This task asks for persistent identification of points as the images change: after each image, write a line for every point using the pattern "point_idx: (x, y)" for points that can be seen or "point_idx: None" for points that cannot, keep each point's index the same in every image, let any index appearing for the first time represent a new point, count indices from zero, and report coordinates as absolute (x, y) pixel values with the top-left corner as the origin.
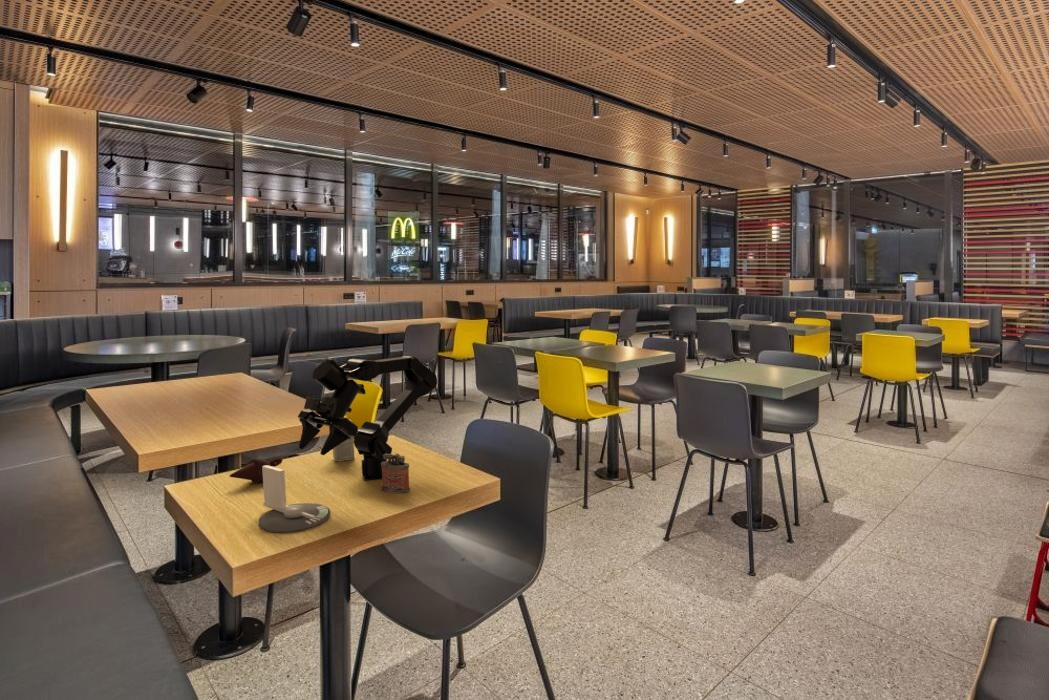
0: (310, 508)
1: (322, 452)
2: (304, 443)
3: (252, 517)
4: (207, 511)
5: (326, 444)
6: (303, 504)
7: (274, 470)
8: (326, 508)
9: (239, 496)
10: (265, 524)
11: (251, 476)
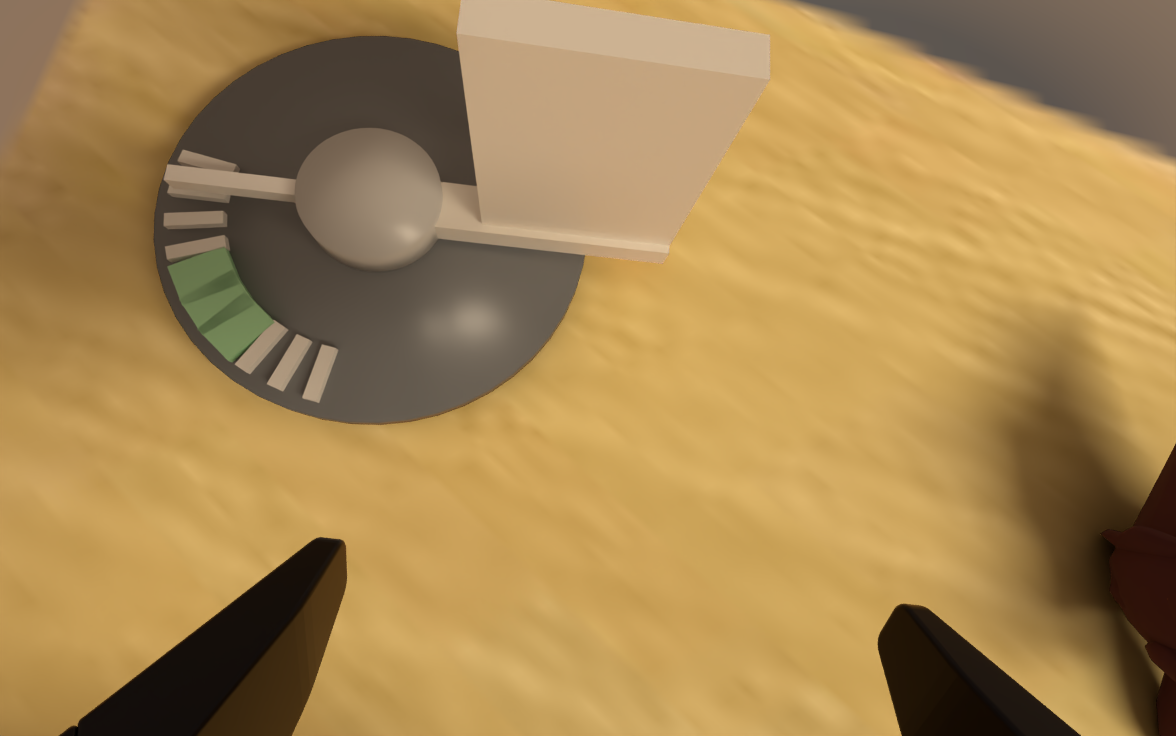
0: (379, 339)
1: (297, 559)
2: (937, 726)
3: None
4: (903, 112)
5: (159, 664)
6: (478, 367)
7: (558, 8)
8: (270, 384)
9: (978, 328)
10: (438, 63)
11: (1161, 489)
